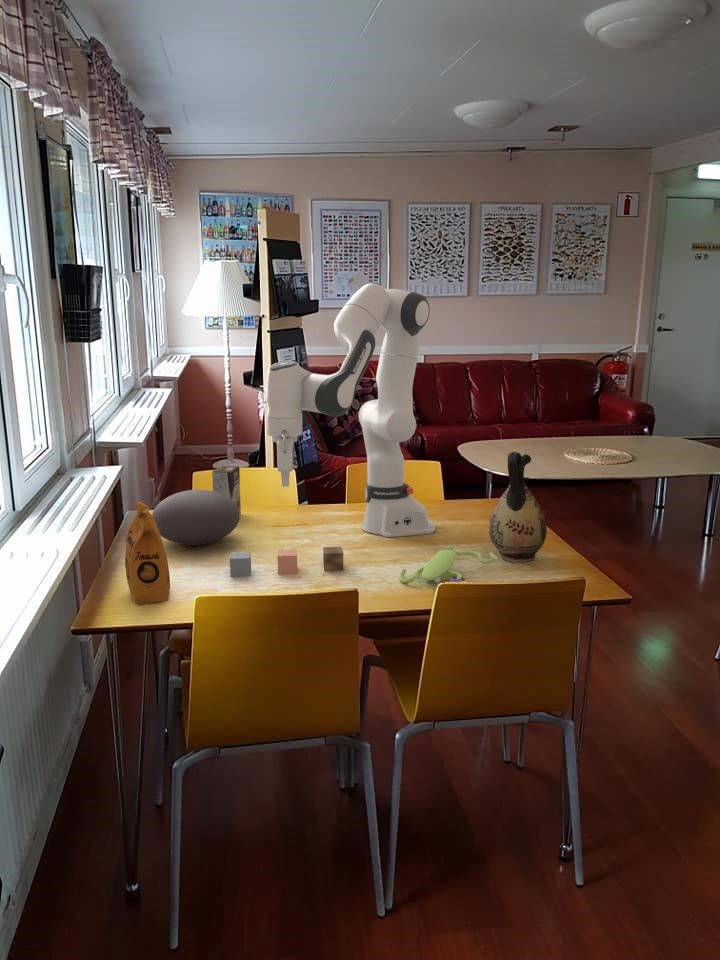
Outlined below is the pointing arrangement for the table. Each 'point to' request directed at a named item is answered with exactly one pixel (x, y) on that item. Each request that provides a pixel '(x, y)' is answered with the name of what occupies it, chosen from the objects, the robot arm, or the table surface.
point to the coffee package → (146, 559)
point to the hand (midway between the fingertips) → (285, 481)
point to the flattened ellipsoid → (196, 517)
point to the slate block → (240, 564)
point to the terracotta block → (287, 561)
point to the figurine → (443, 565)
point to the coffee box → (228, 483)
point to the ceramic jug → (517, 517)
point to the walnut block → (333, 558)
